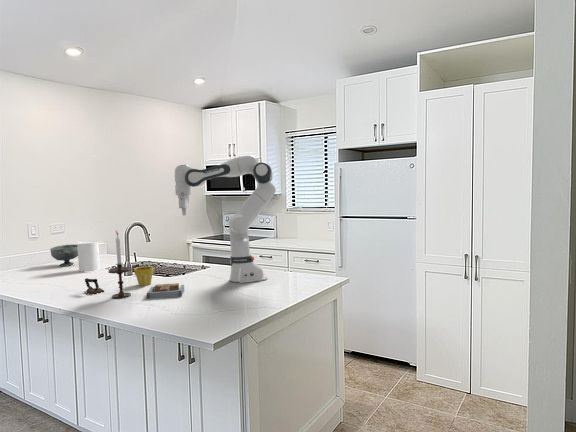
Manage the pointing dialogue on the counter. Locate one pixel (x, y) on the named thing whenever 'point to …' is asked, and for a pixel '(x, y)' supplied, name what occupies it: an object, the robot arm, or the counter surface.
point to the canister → (88, 256)
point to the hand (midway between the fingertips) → (184, 215)
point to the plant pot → (144, 275)
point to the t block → (166, 287)
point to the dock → (164, 293)
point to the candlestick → (119, 272)
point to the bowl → (65, 253)
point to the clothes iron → (93, 290)
